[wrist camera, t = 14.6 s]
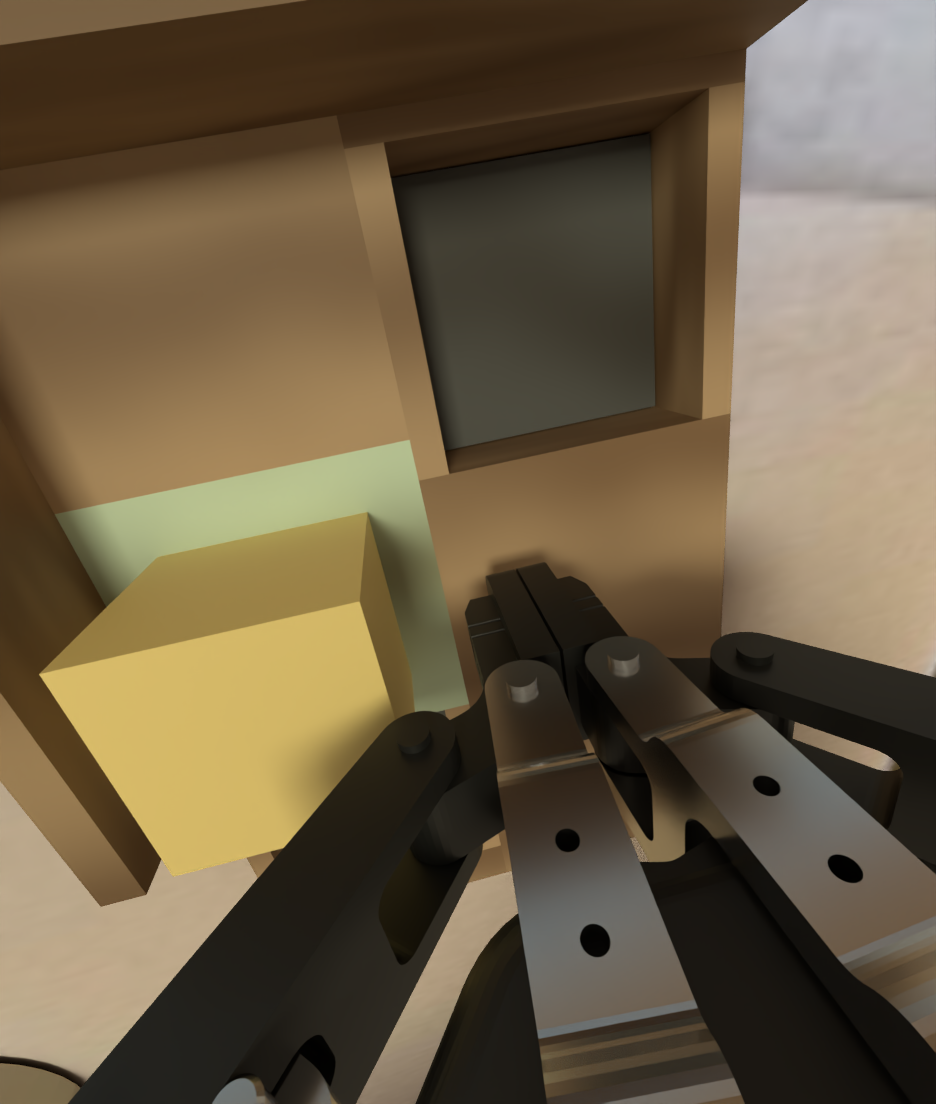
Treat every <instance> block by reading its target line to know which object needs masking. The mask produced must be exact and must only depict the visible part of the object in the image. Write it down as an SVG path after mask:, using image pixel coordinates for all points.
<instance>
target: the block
mask: <svg viewBox="0 0 936 1104" xmlns="http://www.w3.org/2000/svg"><path fill="white" fill-rule="evenodd" d="M39 675H40V676H41V678H42V679H43V681H44V682H45V684H46V685H47V687H48V689H49V690H50V692H51V693H52V695H53V696H54V698H55V699H56V701H57V702H58V704H59V705H60V707H61V708H62V710H63V711H64V713H65V714H66V716H67V717H68V719H69V720H70V722H71V723H72V725H73V726H74V728H75V729H76V731H77V732H78V734H79V735H80V737H81V738H82V740H83V741H84V743H85V744H86V746H87V747H88V749H89V750H90V752H91V753H92V755H93V756H94V758H95V759H96V761H97V763H98V764H99V766H100V767H101V769H102V770H103V772H104V773H105V775H106V776H107V778H108V779H109V781H110V782H111V784H112V785H113V787H114V788H115V790H116V791H117V793H118V794H119V796H120V797H121V799H122V800H123V802H124V803H125V805H126V806H127V808H128V809H129V811H130V812H131V814H132V815H133V817H134V818H135V820H136V821H137V823H138V824H139V826H140V827H141V829H142V830H143V832H144V833H145V835H146V837H147V838H148V840H149V841H150V843H151V844H152V846H153V847H154V849H155V850H156V852H157V853H158V855H159V856H160V858H161V859H162V861H163V862H164V864H165V865H166V867H167V868H168V870H169V871H170V873H171V874H172V876H173V877H174V876H177V875H181V874H185V873H189V872H193V871H197V870H201V869H204V868H208V867H212V866H216V865H220V864H224V863H228V862H231V861H235V860H239V859H243V858H247V857H251V856H255V855H258V854H262V853H266V852H270V851H274V850H278V849H282V848H284V847H285V846H286V845H287V843H288V842H289V841H290V840H291V839H292V838H293V836H294V835H295V834H296V833H297V832H298V830H299V829H300V828H301V827H302V826H303V824H304V823H305V822H306V821H307V820H308V819H309V817H310V816H311V815H312V814H313V813H314V811H315V810H316V809H317V808H318V807H319V806H320V804H321V803H322V802H323V801H324V800H325V798H326V797H327V796H328V795H329V794H330V793H331V791H332V790H333V789H334V788H335V787H336V785H337V784H338V783H339V782H340V781H341V780H342V778H343V777H344V776H345V775H346V774H347V772H348V771H349V770H350V769H351V768H352V767H353V765H354V764H355V763H356V762H357V761H358V759H359V758H360V757H361V756H362V755H363V753H364V752H365V751H366V750H367V749H368V748H369V746H370V745H371V744H372V743H373V742H374V740H375V739H376V738H377V737H378V736H379V735H380V733H381V732H382V731H383V730H384V729H385V728H386V727H387V726H388V725H389V724H390V723H392V722H393V721H394V720H396V719H398V718H400V717H402V716H404V715H406V714H409V713H413V712H415V707H414V695H413V683H412V674H411V670H410V667H409V663H408V659H407V656H406V652H405V648H404V645H403V641H402V637H401V634H400V630H399V626H398V623H397V619H396V615H395V612H394V608H393V604H392V601H391V597H390V593H389V590H388V586H387V582H386V579H385V575H384V571H383V568H382V564H381V560H380V557H379V553H378V549H377V546H376V542H375V538H374V535H373V531H372V527H371V524H370V520H369V516H368V513H367V512H365V513H360V514H355V515H351V516H346V517H341V518H337V519H332V520H327V521H323V522H318V523H313V524H309V525H304V526H299V527H295V528H290V529H285V530H281V531H276V532H271V533H267V534H262V535H257V536H253V537H248V538H244V539H239V540H234V541H230V542H225V543H220V544H216V545H211V546H206V547H202V548H197V549H192V550H188V551H183V552H178V553H174V554H169V555H164V556H160V557H157V558H156V559H155V560H154V561H153V562H152V563H151V564H150V565H149V566H148V567H147V568H146V569H145V570H144V571H143V572H142V573H141V574H140V575H139V576H138V577H137V578H136V579H135V580H134V581H133V582H132V583H131V584H130V585H129V586H128V587H127V588H126V589H125V590H124V591H123V592H122V593H121V594H120V595H119V596H118V597H117V598H116V599H115V600H114V601H113V602H111V603H110V604H109V605H108V606H107V607H106V608H105V609H104V610H103V611H102V612H101V613H100V614H99V615H98V616H97V617H96V618H95V619H94V620H93V621H92V622H91V623H90V624H89V625H88V626H87V627H86V628H85V629H84V630H83V631H82V632H81V633H80V634H79V635H78V636H77V637H76V638H75V639H74V640H73V641H72V642H71V643H70V644H69V645H68V646H67V647H66V648H65V649H64V650H63V651H62V652H61V653H60V654H59V655H58V656H57V657H56V658H55V659H54V660H53V661H52V662H51V663H50V664H49V665H48V666H47V667H46V668H45V669H44V670H43V671H42V672H41V673H40V674H39Z"/></svg>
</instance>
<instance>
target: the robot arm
mask: <svg viewBox="0 0 936 1104" xmlns="http://www.w3.org/2000/svg"><path fill="white" fill-rule="evenodd" d="M485 578H486V585H487V591H488V596H484V597H480V598H476V599H471V600H470V601H469V603H468V606H467V608H466V610H465V618H466V622H467V627H468V631H469V636H470V641H471V645H472V650H473V654H474V659H475V663H476V667H477V671H478V674H479V678H480V682H481V685H482V689H483V691H482V694H481V696H480V697H479V699H478V700H477V702H476V703H475V704H474V705H473V706H472V707H471V708H469V709H468V710H467V711H465V712H464V713H462V714H460V715H458V716H457V717H455V718H453V719H451V720H449V719H448V718H447V717H446V716H444V715H443V714H440V713H437V712H433V711H417V712H413V713H409V714H406V715H404V716H402V717H400V718H398V719H396V720H394V721H393V722H392V723H390V724H389V725H388V726H387V727H386V728H385V729H384V730H383V731H382V732H381V733H380V735H379V736H378V737H377V738H376V739H375V740H374V742H373V743H372V744H371V745H370V746H369V748H368V749H367V750H366V751H365V752H364V753H363V755H362V756H361V757H360V758H359V759H358V761H357V762H356V763H355V764H354V765H353V767H352V768H351V769H350V770H349V771H348V772H347V774H346V775H345V776H344V777H343V778H342V780H341V781H340V782H339V783H338V784H337V785H336V787H335V788H334V789H333V790H332V791H331V793H330V794H329V795H328V796H327V797H326V798H325V800H324V801H323V802H322V803H321V804H320V806H319V807H318V808H317V809H316V810H315V811H314V813H313V814H312V815H311V816H310V817H309V819H308V820H307V821H306V822H305V823H304V824H303V826H302V827H301V828H300V829H299V830H298V832H297V833H296V834H295V835H294V836H293V838H292V839H291V840H290V841H289V842H288V843H287V845H286V846H285V847H284V848H283V849H282V851H281V852H280V853H279V854H278V855H277V856H276V858H275V859H274V860H273V861H272V862H271V864H270V865H269V866H268V867H267V868H266V869H265V871H264V872H263V873H262V874H261V875H260V877H259V878H258V879H257V880H256V881H255V882H254V884H253V885H252V886H251V887H250V888H249V890H248V891H247V892H246V893H245V894H244V895H243V897H242V898H241V899H240V900H239V901H238V903H237V904H236V905H235V906H234V907H233V909H232V910H231V911H230V912H229V913H228V914H227V916H226V917H225V918H224V919H223V920H222V922H221V923H220V924H219V925H218V926H217V927H216V929H215V930H214V931H213V932H212V933H211V935H210V936H209V937H208V938H207V939H206V940H205V942H204V943H203V944H202V945H201V946H200V948H199V949H198V950H197V951H196V952H195V953H194V955H193V956H192V957H191V958H190V959H189V961H188V962H187V963H186V964H185V965H184V966H183V968H182V969H181V970H180V971H179V972H178V974H177V975H176V976H175V977H174V978H173V980H172V981H171V982H170V983H169V984H168V985H167V987H166V988H165V989H164V990H163V991H162V993H161V994H160V995H159V996H158V997H157V998H156V1000H155V1001H154V1002H153V1003H152V1004H151V1006H150V1007H149V1008H148V1009H147V1010H146V1011H145V1013H144V1014H143V1015H142V1016H141V1017H140V1019H139V1020H138V1021H137V1022H136V1023H135V1024H134V1026H133V1027H132V1028H131V1029H130V1030H129V1032H128V1033H127V1034H126V1035H125V1036H124V1037H123V1039H122V1040H121V1041H120V1042H119V1043H118V1045H117V1046H116V1047H115V1048H114V1049H113V1051H112V1052H111V1053H110V1054H109V1055H108V1056H107V1058H106V1059H105V1060H104V1061H103V1062H102V1064H101V1065H100V1066H99V1067H98V1068H97V1069H96V1071H95V1072H94V1073H93V1074H92V1075H91V1077H90V1078H89V1079H88V1080H87V1081H86V1082H85V1084H84V1085H83V1086H82V1087H81V1088H80V1087H79V1086H78V1085H77V1084H75V1083H73V1082H71V1081H70V1080H68V1079H66V1078H64V1077H62V1076H60V1075H57V1074H54V1073H51V1072H48V1071H45V1070H42V1069H37V1068H32V1067H27V1066H22V1065H15V1064H3V1063H0V1104H356V1102H357V1100H358V1098H359V1096H360V1094H361V1092H362V1090H363V1088H364V1086H365V1084H366V1083H367V1081H368V1079H369V1077H370V1075H371V1073H372V1071H373V1069H374V1067H375V1065H376V1063H377V1061H378V1059H379V1057H380V1055H381V1053H382V1051H383V1049H384V1047H385V1045H386V1043H387V1041H388V1039H389V1037H390V1035H391V1033H392V1031H393V1029H394V1027H395V1025H396V1023H397V1021H398V1019H399V1017H400V1016H401V1014H402V1012H403V1010H404V1008H405V1006H406V1004H407V1002H408V1000H409V998H410V996H411V994H412V992H413V990H414V988H415V986H416V984H417V982H418V980H419V978H420V976H421V974H422V972H423V970H424V968H425V966H426V964H427V962H428V960H429V958H430V956H431V954H432V952H433V950H434V949H435V947H436V945H437V943H438V941H439V939H440V937H441V935H442V933H443V931H444V929H445V927H446V925H447V923H448V921H449V919H450V917H451V915H452V913H453V911H454V909H455V907H456V905H457V903H458V901H459V899H460V897H461V895H462V893H463V891H464V889H465V887H466V885H467V884H468V882H469V880H470V878H471V876H472V874H473V872H474V870H475V868H476V866H477V864H478V862H479V860H480V857H481V855H482V850H483V843H485V842H486V841H488V840H489V839H491V838H492V837H494V836H496V835H497V834H499V833H500V832H502V831H503V830H505V831H506V837H507V844H508V850H509V856H510V862H511V869H512V875H513V881H514V888H515V894H516V900H517V907H518V914H517V915H515V916H514V917H513V918H512V919H511V920H510V921H508V922H507V923H506V924H505V925H504V926H503V927H502V928H501V929H500V930H499V931H498V932H497V933H496V934H495V935H494V936H493V938H492V939H491V940H490V941H489V943H488V944H487V945H486V947H485V948H484V950H483V951H482V952H481V954H480V955H479V957H478V959H477V960H476V962H475V964H474V966H473V968H472V969H471V971H470V973H469V975H468V977H467V979H466V982H465V984H464V986H463V988H462V991H461V993H460V996H459V998H458V1001H457V1003H456V1006H455V1008H454V1010H453V1013H452V1015H451V1018H450V1020H449V1023H448V1025H447V1028H446V1030H445V1033H444V1035H443V1037H442V1040H441V1042H440V1045H439V1047H438V1050H437V1052H436V1055H435V1057H434V1060H433V1062H432V1065H431V1067H430V1069H429V1072H428V1074H427V1077H426V1079H425V1082H424V1084H423V1087H422V1089H421V1092H420V1094H419V1096H418V1099H417V1101H416V1104H936V678H935V677H931V676H927V675H923V674H919V673H915V672H911V671H907V670H903V669H899V668H895V667H891V666H887V665H883V664H880V663H876V662H872V661H868V660H864V659H860V658H856V657H852V656H848V655H844V654H840V653H836V652H832V651H828V650H825V649H821V648H817V647H813V646H809V645H805V644H801V643H797V642H793V641H789V640H785V639H781V638H777V637H773V636H770V635H765V634H761V633H753V632H738V633H732V634H728V635H725V636H723V637H720V638H719V639H717V640H716V641H715V642H714V643H713V645H712V646H711V651H710V658H669V657H666V656H665V655H664V654H663V653H662V652H661V651H660V650H658V649H657V648H656V647H655V646H654V645H653V644H651V643H649V642H647V641H645V640H643V639H639V638H635V637H629V636H628V635H627V633H626V632H625V631H624V630H623V628H622V627H621V626H620V625H619V623H618V622H617V621H616V620H615V618H614V617H613V616H612V615H611V613H610V612H609V611H608V610H607V608H606V607H605V606H603V603H602V602H601V601H600V600H599V598H598V597H596V595H595V594H594V592H593V591H592V590H591V589H590V587H589V586H588V585H587V584H586V583H584V582H582V581H580V580H578V579H576V578H574V577H572V576H567V577H563V578H559V579H557V578H556V576H555V575H554V573H553V572H552V571H551V569H550V568H549V566H548V565H547V564H546V562H541V563H537V564H533V565H528V566H524V567H520V568H516V571H515V569H512V570H508V571H503V572H499V573H495V574H491V575H486V576H485ZM795 722H798V723H800V724H803V725H806V726H809V727H812V728H815V729H818V730H821V731H824V732H826V733H829V734H832V735H835V736H838V737H841V738H844V739H847V740H849V741H852V742H855V743H858V744H861V745H864V746H867V747H870V748H873V749H875V750H878V751H880V752H882V753H884V754H886V755H888V756H889V757H891V758H892V759H893V760H894V761H895V762H896V763H897V764H898V765H899V767H900V769H898V770H895V771H881V770H877V769H874V768H871V767H868V766H865V765H863V764H860V763H857V762H855V761H852V760H849V759H846V758H844V757H841V756H838V755H835V754H833V753H830V752H827V751H825V750H822V749H819V748H816V747H814V746H811V745H808V744H806V743H803V742H800V741H797V740H795V739H793V731H794V723H795ZM587 739H589V740H590V742H591V744H592V746H593V748H594V753H588V751H587V749H586V746H585V744H584V741H583V740H587ZM618 808H619V809H618ZM619 810H620V811H619ZM620 812H621V813H622V815H623V817H624V819H625V820H626V822H627V824H628V825H629V827H630V829H631V831H632V832H633V834H634V836H635V837H636V839H637V841H638V842H639V844H640V846H641V848H642V849H643V851H644V853H645V855H646V857H647V859H648V861H649V862H640V861H639V859H638V856H637V854H636V851H635V849H634V846H633V844H632V841H631V839H630V836H629V834H628V831H627V829H626V826H625V824H624V821H623V819H622V816H621V814H620Z"/></svg>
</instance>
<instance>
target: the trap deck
mask: <svg viewBox="0 0 936 1104" xmlns="http://www.w3.org/2000/svg"><path fill="white" fill-rule="evenodd" d="M806 1H808V0H0V781H1V782H2V784H3V785H4V786H5V787H6V789H7V790H8V791H9V792H10V794H11V795H12V796H13V797H14V799H15V800H16V801H17V802H18V804H19V805H20V806H21V807H22V809H23V810H24V811H25V812H26V814H27V815H28V816H29V817H30V819H31V820H32V821H33V822H34V824H35V825H36V826H37V827H38V829H39V830H40V831H41V832H42V834H43V835H44V836H45V837H46V839H47V840H48V841H49V842H50V844H51V845H52V846H53V848H54V849H55V850H56V851H57V853H58V854H59V855H60V856H61V858H62V859H63V860H64V861H65V863H66V864H67V865H68V866H69V868H70V869H71V870H72V871H73V873H74V874H75V875H76V876H77V878H78V879H79V880H80V881H81V883H82V884H83V885H84V886H85V888H86V889H87V890H88V891H89V893H90V894H91V895H92V896H93V898H94V899H95V900H96V901H97V903H98V904H99V905H100V906H105V905H109V904H113V903H117V902H120V901H124V900H128V899H132V898H136V897H139V896H143V895H146V894H147V892H148V890H149V887H150V885H151V883H152V880H153V878H154V875H155V873H156V871H157V868H158V866H159V864H160V861H161V858H160V856H159V855H158V853H157V852H156V850H155V849H154V847H153V846H152V844H151V843H150V841H149V840H148V838H147V837H146V835H145V833H144V832H143V830H142V829H141V827H140V826H139V824H138V823H137V821H136V820H135V818H134V817H133V815H132V814H131V812H130V811H129V809H128V808H127V806H126V805H125V803H124V802H123V800H122V799H121V797H120V796H119V794H118V793H117V791H116V790H115V788H114V787H113V785H112V784H111V782H110V781H109V779H108V778H107V776H106V775H105V773H104V772H103V770H102V769H101V767H100V766H99V764H98V763H97V761H96V759H95V758H94V756H93V755H92V753H91V752H90V750H89V749H88V747H87V746H86V744H85V743H84V741H83V740H82V738H81V737H80V735H79V734H78V732H77V731H76V729H75V728H74V726H73V725H72V723H71V722H70V720H69V719H68V717H67V716H66V714H65V713H64V711H63V710H62V708H61V707H60V705H59V704H58V702H57V701H56V699H55V698H54V696H53V695H52V693H51V692H50V690H49V689H48V687H47V685H46V684H45V682H44V681H43V679H42V678H41V676H40V675H39V674H40V673H41V672H42V671H43V670H44V669H45V668H46V667H47V666H48V665H49V664H50V663H51V662H52V661H53V660H54V659H55V658H56V657H57V656H58V655H59V654H60V653H61V652H62V651H63V650H64V649H65V648H66V647H67V646H68V645H69V644H70V643H71V642H72V641H73V640H74V639H75V638H76V637H77V636H78V635H79V634H80V633H81V632H82V631H83V630H84V629H85V628H86V627H87V626H88V625H89V624H90V623H91V622H92V621H93V620H94V619H95V618H96V617H97V616H98V615H99V614H100V613H101V612H102V611H103V610H104V609H105V608H106V607H107V606H108V605H109V604H110V603H111V602H113V601H114V600H115V599H116V598H117V597H118V596H119V595H120V594H121V593H122V592H123V591H124V590H125V589H126V588H127V587H128V586H129V585H130V584H131V583H132V582H133V581H134V580H135V579H136V578H137V577H138V576H139V575H140V574H141V573H142V572H143V571H144V570H145V569H146V568H147V567H148V566H149V565H150V564H151V563H152V562H153V561H154V560H155V559H156V558H157V557H160V556H164V555H169V554H174V553H178V552H183V551H188V550H192V549H197V548H202V547H206V546H211V545H216V544H220V543H225V542H230V541H234V540H239V539H244V538H248V537H253V536H257V535H262V534H267V533H271V532H276V531H281V530H285V529H290V528H295V527H299V526H304V525H309V524H313V523H318V522H323V521H327V520H332V519H337V518H341V517H346V516H351V515H355V514H360V513H365V512H367V513H368V516H369V520H370V524H371V527H372V531H373V535H374V538H375V542H376V546H377V549H378V553H379V557H380V560H381V564H382V568H383V571H384V575H385V579H386V582H387V586H388V590H389V593H390V597H391V601H392V604H393V608H394V612H395V615H396V619H397V623H398V626H399V630H400V634H401V637H402V641H403V645H404V648H405V652H406V656H407V659H408V663H409V667H410V670H411V674H412V683H413V695H414V707H415V712H417V711H433V712H437V713H440V714H443V715H444V716H446V717H447V718H448V719H449V720H451V719H453V718H455V717H457V716H458V715H460V714H462V713H464V712H465V711H467V710H468V709H469V708H471V707H472V706H473V705H474V704H475V703H476V702H477V700H478V699H479V697H480V696H481V694H482V691H483V689H482V685H481V682H480V678H479V674H478V671H477V667H476V663H475V659H474V654H473V650H472V645H471V641H470V636H469V631H468V627H467V622H466V618H465V610H466V608H467V606H468V603H469V601H470V600H471V599H476V598H480V597H484V596H488V591H487V585H486V578H485V576H486V575H491V574H495V573H499V572H503V571H508V570H512V569H515V571H516V568H520V567H524V566H528V565H533V564H537V563H541V562H546V564H547V565H548V566H549V568H550V569H551V571H552V572H553V573H554V575H555V576H556V578H557V579H559V578H563V577H567V576H572V577H574V578H576V579H578V580H580V581H582V582H584V583H586V584H587V585H588V586H589V587H590V589H591V590H592V591H593V592H594V594H595V595H596V597H598V598H599V600H600V601H601V602H602V603H603V606H605V607H606V608H607V610H608V611H609V612H610V613H611V615H612V616H613V617H614V618H615V620H616V621H617V622H618V623H619V625H620V626H621V627H622V628H623V630H624V631H625V632H626V633H627V635H628V636H629V637H635V638H639V639H643V640H645V641H647V642H649V643H651V644H653V645H654V646H655V647H656V648H657V649H658V650H660V651H661V652H662V653H663V654H664V655H665V656H666V657H669V658H710V651H711V646H712V645H713V643H714V642H715V641H716V640H717V639H719V638H720V637H721V619H722V596H723V573H724V550H725V527H726V505H727V482H728V459H729V436H730V413H731V390H732V367H733V344H734V321H735V298H736V275H737V252H738V229H739V206H740V183H741V160H742V138H743V115H744V92H745V69H746V49H747V48H748V47H749V46H750V45H752V44H753V43H754V42H755V41H757V40H758V39H759V38H761V37H762V36H763V35H764V34H766V33H767V32H768V31H769V30H771V29H772V28H773V27H775V26H776V25H777V24H778V23H780V22H781V21H782V20H783V19H785V18H786V17H787V16H789V15H790V14H791V13H792V12H794V11H795V10H796V9H797V8H799V7H800V6H801V5H803V4H804V3H805V2H806ZM644 134H646V135H644ZM638 135H640V136H638ZM633 136H634V137H633ZM627 137H628V138H627ZM621 138H623V139H621ZM615 139H617V140H615ZM609 140H611V141H609ZM604 141H605V142H604ZM598 142H599V143H598ZM592 143H594V144H592ZM586 144H588V145H586ZM581 145H582V146H581ZM575 146H576V147H575ZM569 147H571V148H569ZM563 148H565V149H563ZM557 149H559V150H557ZM552 150H553V151H552ZM546 151H547V152H546ZM540 152H542V153H540ZM534 153H536V154H534ZM529 154H530V155H529ZM523 155H524V156H523ZM517 156H519V157H517ZM511 157H513V158H511ZM505 158H507V159H505ZM500 159H501V160H500ZM494 160H495V161H494ZM488 161H490V162H488ZM482 162H484V163H482ZM477 163H478V164H477ZM471 164H472V165H471ZM465 165H467V166H465ZM459 166H461V167H459ZM453 167H455V168H453ZM448 168H449V169H448ZM442 169H443V170H442ZM436 170H438V171H436ZM430 171H432V172H430ZM425 172H426V173H425ZM419 173H420V174H419ZM413 174H415V175H413ZM407 175H409V176H407ZM401 176H403V177H401ZM396 177H397V178H396ZM652 406H653V407H652ZM643 408H644V409H643ZM638 409H639V410H638ZM629 411H630V412H629ZM624 412H625V413H624ZM615 414H616V415H615ZM610 415H611V416H610ZM605 416H606V417H605ZM596 418H597V419H596ZM591 419H592V420H591ZM582 421H583V422H582ZM577 422H578V423H577ZM568 424H569V425H568ZM563 425H564V426H563ZM558 426H559V427H558ZM549 428H550V429H549ZM544 429H545V430H544ZM535 431H536V432H535ZM530 432H531V433H530ZM521 434H522V435H521ZM516 435H517V436H516ZM511 436H512V437H511ZM502 438H503V439H502ZM497 439H498V440H497ZM488 441H489V442H488ZM483 442H484V443H483ZM474 444H475V445H474ZM469 445H470V446H469ZM464 446H465V447H464ZM455 448H456V449H455ZM450 449H451V450H450ZM583 741H584V744H585V746H586V749H587V751H588V753H594V748H593V746H592V744H591V742H590V740H589V739H587V740H583ZM618 809H619V808H618ZM619 811H620V810H619ZM620 814H621V816H622V819H623V821H624V824H625V826H626V829H627V831H628V834H629V836H630V838H633V837H635V836H634V834H633V832H632V831H631V829H630V827H629V825H628V824H627V822H626V820H625V819H624V817H623V815H622V813H621V812H620ZM282 849H283V848H282ZM282 849H278V850H274V851H270V852H266V853H262V854H258V855H255V856H251V857H247V859H248V861H249V863H250V865H251V866H252V868H253V870H254V872H255V874H256V875H257V877H258V878H259V877H260V875H261V874H262V873H263V872H264V871H265V869H266V868H267V867H268V866H269V865H270V864H271V862H272V861H273V860H274V859H275V858H276V856H277V855H278V854H279V853H280V852H281V851H282ZM509 871H512V869H511V862H510V856H509V850H508V844H507V837H506V831H505V830H503V831H502V832H500V833H499V834H497V835H496V836H494V837H492V838H491V839H489V840H488V841H486V842H485V843H483V850H482V855H481V857H480V860H479V862H478V864H477V866H476V868H475V870H474V872H473V874H472V876H471V878H470V880H469V882H473V881H476V880H480V879H484V878H487V877H491V876H494V875H498V874H502V873H505V872H509ZM469 882H468V883H469Z"/></svg>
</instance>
